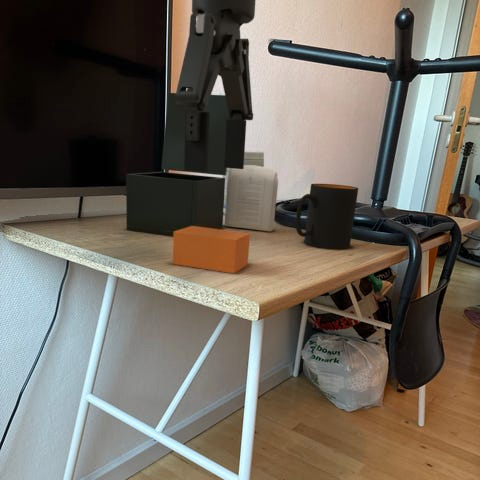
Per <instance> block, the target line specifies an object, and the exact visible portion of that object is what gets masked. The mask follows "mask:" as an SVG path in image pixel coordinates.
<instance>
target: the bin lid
mask: <svg viewBox="0 0 480 480" xmlns="http://www.w3.org/2000/svg"><path fill="white" fill-rule="evenodd" d="M176 103H177V101H176V92H168V93H167V103H166V114H165V126H164V134H163V135H164V136H163V146H162V158H161V169H160V170H163V171H172V172H173V171H174V172H182V173H193V174H205V175H212V176H213V175H214V176H223V175H224V176H226V173H227V168H224V162H225V141H226V120H227V119H230V117H229V112H228V107H227V102H226V97H225V94H211V96H210V99H209V102H208V104H207V107H206V110H205V111H202V112H209V113H210V117H209V145H208V172H200V171H188V170H184V156H185V111H186V110H178V109H177V105H176ZM231 120H232V119H231Z"/></svg>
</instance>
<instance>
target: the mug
mask: <svg viewBox="0 0 480 480" xmlns="http://www.w3.org/2000/svg"><path fill="white" fill-rule="evenodd" d="M309 189H310V190H309V193H306V194H304V195H303V196H302V197H301V198H300V199H299V200H298V201H299V202H298V203H297V208H296V216H295V231H296V233H297V234H298V235H299V236H300V237H302V238H304V244H305V245H307V246H311V247H313V248H319V249H325V250H347V249H349V248H350V247H351V241H352V235H353V228H354V220H355V214H356V208H357V203H358V202H357V200H358V194H359V187H356V186H351V185H343V184H334V183H310V188H309ZM307 200H308V205H307V206H308V207H307V215H306V224H305V232H303V231H302V228H301V221H302V212H303V211H302V210H303V206H304V203H305V202H306V201H307Z"/></svg>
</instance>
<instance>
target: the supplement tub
mask: <svg viewBox="0 0 480 480" xmlns="http://www.w3.org/2000/svg"><path fill="white" fill-rule="evenodd" d="M264 157H265V152H264V151H259V150H248V149H247V150H246V149H245V153H244V165H256V166H262V167H265V158H264ZM229 171H230V168H227V173H226V176H224V175H222V178H225V192H224V210H223V215H225V210H226V196H227V183H228V176H229Z"/></svg>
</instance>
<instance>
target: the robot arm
mask: <svg viewBox="0 0 480 480" xmlns="http://www.w3.org/2000/svg"><path fill="white" fill-rule="evenodd" d="M255 15H256V0H191V14H190V18H189V31H188V32H189V33H188V39H187V43H186V47H185V52H184V56H183V61H182V64H181V70H180V74H179V78H178V83H177V87H176V91H175V93H176V101H177V103H176V105H177V109H178V110H186V111H185V156H184V170H188V171H200V172H208V145H209V117H210V113H209V112H202V111H205V110H206V107H207V104H208V102H209V99H210V96H211V95H212V93H213V90H214V89H215V85H216V82H217V80H218V77H220V78H221V82H222V87H223V92H224V95H225V97H226V102H227V107H228V112H229V117H230V119H227V120H226V141H225V162H224V168H234V169H244V153H245V150H246V136H247V121H253V120H254V111H253V102H252V86H251V74H250V73H251V72H250V60H249V59H250V57H249V56H250V40H249V38H241V26H243V25H247V24H249V23H251V22H253V20H254V19H255ZM231 119H232V120H231Z"/></svg>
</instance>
